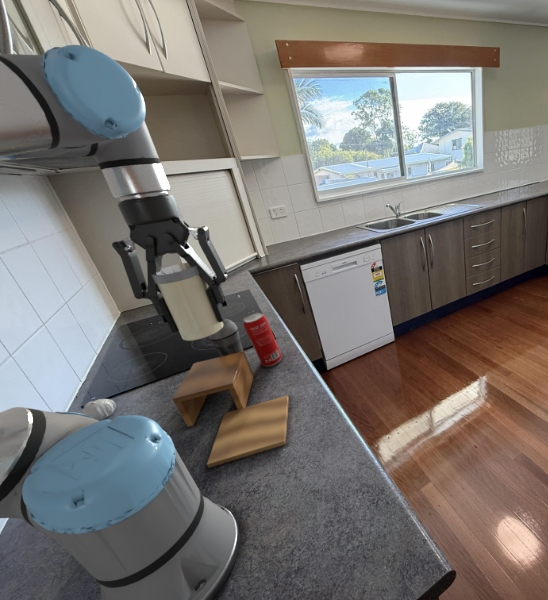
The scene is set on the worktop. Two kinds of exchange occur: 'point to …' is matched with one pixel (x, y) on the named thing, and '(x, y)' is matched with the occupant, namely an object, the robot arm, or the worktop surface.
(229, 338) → the grey bottle
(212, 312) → the jar
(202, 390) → the shelf
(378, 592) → the worktop surface
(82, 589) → the worktop surface
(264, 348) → the beverage can
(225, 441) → the board
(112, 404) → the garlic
